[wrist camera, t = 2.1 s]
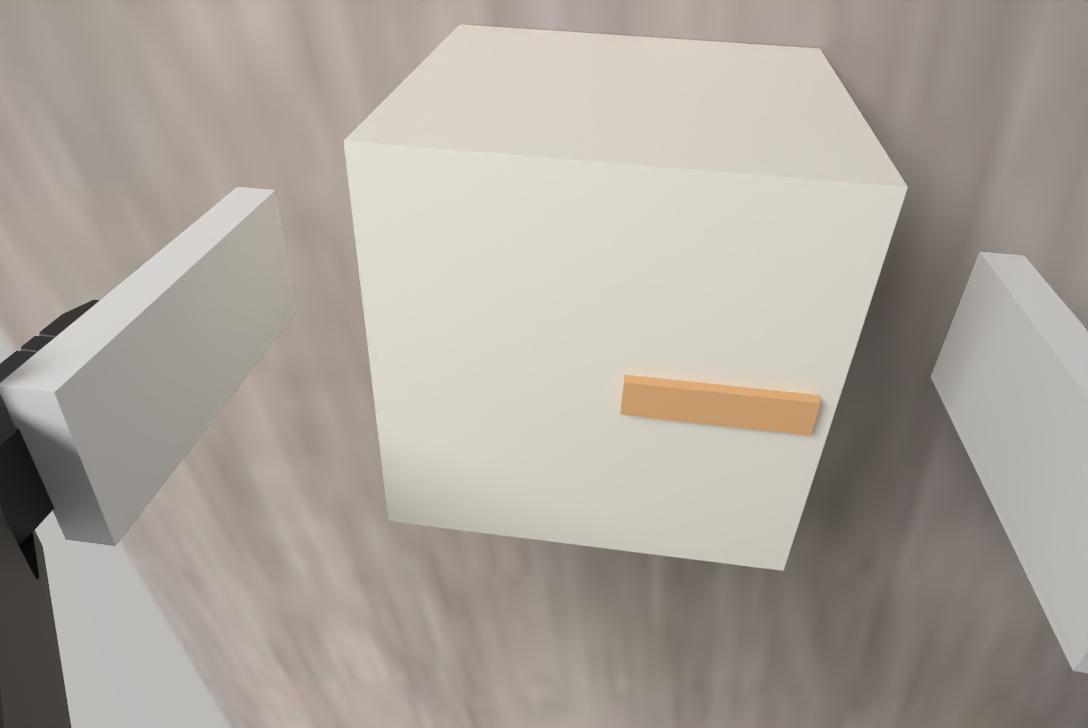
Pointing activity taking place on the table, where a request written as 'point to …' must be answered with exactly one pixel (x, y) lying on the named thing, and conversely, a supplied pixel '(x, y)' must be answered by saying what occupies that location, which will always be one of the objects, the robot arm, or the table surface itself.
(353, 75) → the table surface
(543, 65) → the cream cube
